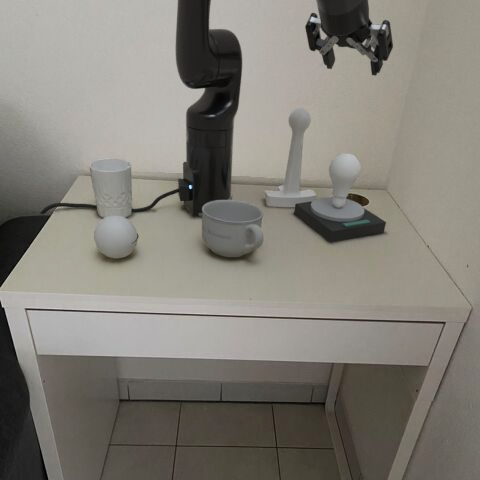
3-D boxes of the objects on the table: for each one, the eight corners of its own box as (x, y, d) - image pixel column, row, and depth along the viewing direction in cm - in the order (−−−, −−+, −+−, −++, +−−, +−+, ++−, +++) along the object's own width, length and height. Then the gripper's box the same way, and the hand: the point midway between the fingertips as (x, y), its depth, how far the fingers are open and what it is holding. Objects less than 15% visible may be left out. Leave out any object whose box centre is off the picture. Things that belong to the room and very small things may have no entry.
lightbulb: (352, 215, 99) (363, 160, 92) (322, 211, 100) (330, 156, 93) (352, 203, 104) (363, 150, 97) (323, 200, 104) (332, 147, 98)
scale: (330, 242, 95) (332, 227, 94) (294, 214, 106) (295, 199, 104) (383, 233, 100) (387, 218, 98) (344, 206, 110) (346, 193, 109)
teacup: (193, 240, 93) (193, 200, 88) (246, 233, 97) (248, 194, 92) (220, 277, 83) (222, 233, 78) (278, 267, 86) (282, 225, 82)
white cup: (131, 204, 105) (128, 157, 99) (137, 219, 99) (133, 170, 93) (93, 207, 103) (87, 159, 97) (97, 222, 97) (90, 172, 91)
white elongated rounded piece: (131, 268, 83) (127, 228, 79) (89, 263, 84) (83, 223, 80) (149, 242, 91) (147, 205, 87) (111, 237, 92) (107, 200, 88)
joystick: (267, 207, 108) (276, 110, 96) (260, 194, 114) (268, 101, 102) (316, 206, 109) (330, 111, 98) (307, 193, 115) (319, 102, 104)
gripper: (396, -26, 72) (399, 55, 87) (307, -32, 77) (324, 45, 92) (377, 18, 71) (383, 92, 86) (288, 9, 77) (309, 80, 91)
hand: (353, 68), depth 89 cm, fingers open, 8 cm apart
